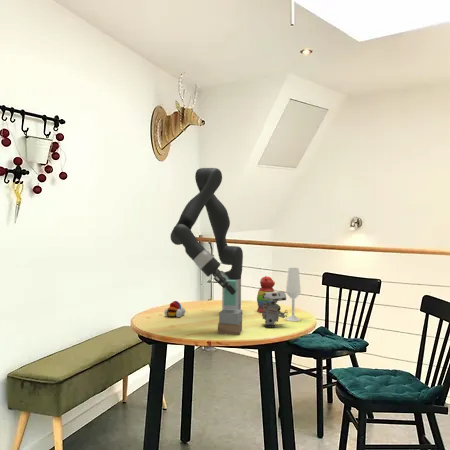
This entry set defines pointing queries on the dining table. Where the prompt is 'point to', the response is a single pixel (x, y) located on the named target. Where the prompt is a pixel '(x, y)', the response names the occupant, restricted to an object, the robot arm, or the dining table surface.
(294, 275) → the champagne flute
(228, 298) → the green block
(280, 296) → the figurine
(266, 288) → the stacking bear
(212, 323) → the dining table surface
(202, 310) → the dining table surface
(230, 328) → the walnut base block
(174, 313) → the rainbow petal toy
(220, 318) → the gray top block
